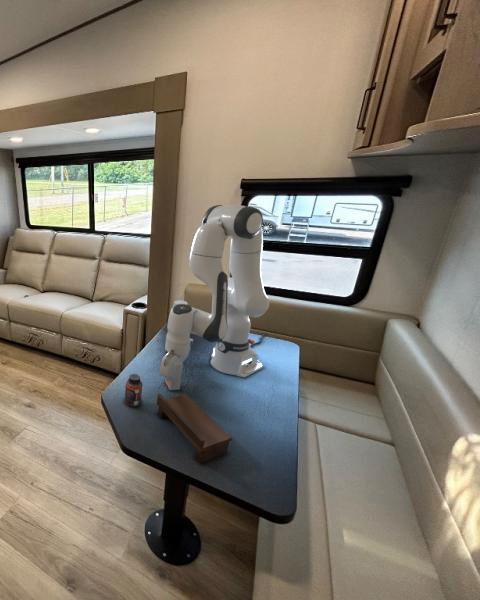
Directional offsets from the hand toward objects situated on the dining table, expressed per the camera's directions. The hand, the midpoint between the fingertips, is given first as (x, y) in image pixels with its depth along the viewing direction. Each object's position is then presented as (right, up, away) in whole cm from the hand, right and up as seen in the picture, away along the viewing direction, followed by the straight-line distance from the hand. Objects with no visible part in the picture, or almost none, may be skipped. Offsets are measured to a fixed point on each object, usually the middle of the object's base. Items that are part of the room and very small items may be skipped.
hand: (173, 375), depth 126 cm
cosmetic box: (0, -5, +2) cm, 5 cm away
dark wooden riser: (-1, -14, -22) cm, 26 cm away
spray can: (+13, +10, +39) cm, 43 cm away
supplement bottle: (-17, -8, -8) cm, 21 cm away
